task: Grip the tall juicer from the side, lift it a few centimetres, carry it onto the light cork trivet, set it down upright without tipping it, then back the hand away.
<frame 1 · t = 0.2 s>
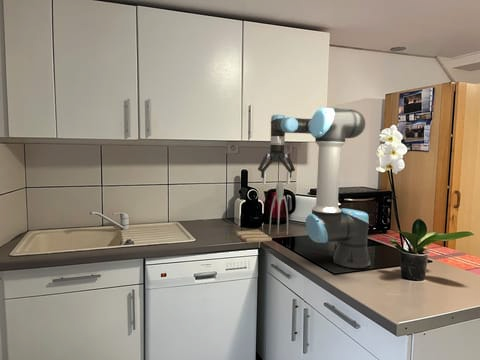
hand: (276, 184, 188), 29 cm above the countertop, tool pointing down, fingers open, 13 cm apart
trivet: (252, 237, 188), on the countertop
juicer: (280, 235, 194), on the countertop
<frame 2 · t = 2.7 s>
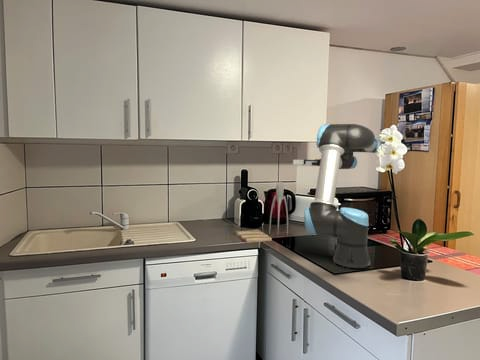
hand: (299, 162, 193), 40 cm above the countertop, tool horizontal, fingers open, 13 cm apart
nothing on the countertop moved.
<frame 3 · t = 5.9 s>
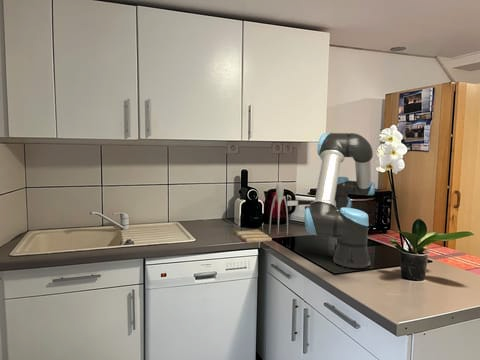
hand: (292, 205, 195), 16 cm above the countertop, tool horizontal, fingers open, 13 cm apart
nothing on the countertop moved.
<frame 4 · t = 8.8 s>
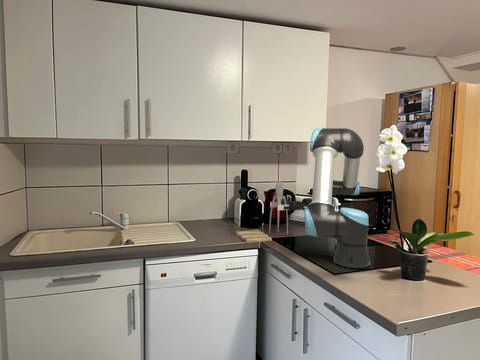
hand: (274, 206, 190), 17 cm above the countertop, tool horizontal, fingers closed on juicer, 8 cm apart
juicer: (280, 235, 194), on the countertop, touching gripper
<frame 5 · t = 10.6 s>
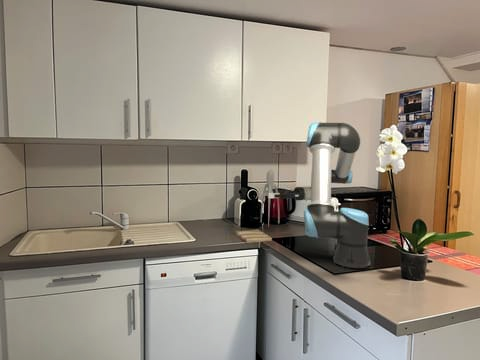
hand: (264, 194, 189), 23 cm above the countertop, tool horizontal, fingers closed on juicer, 8 cm apart
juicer: (271, 224, 192), point 6 cm above the countertop, touching gripper
when the fingers open (19 cm above the countertop, at t = 12.8 s): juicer drops 1 cm, resting on trivet.
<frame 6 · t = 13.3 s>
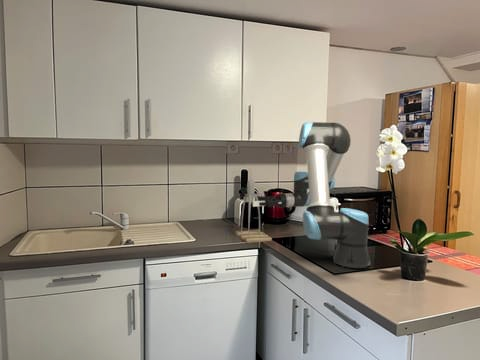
hand: (248, 201, 185), 19 cm above the countertop, tool horizontal, fingers open, 13 cm apart
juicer: (252, 234, 188), point 1 cm above the countertop, touching trivet
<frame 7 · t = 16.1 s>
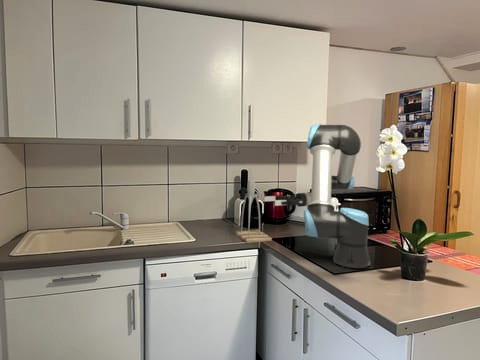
hand: (269, 200, 189), 20 cm above the countertop, tool horizontal, fingers open, 13 cm apart
nothing on the countertop moved.
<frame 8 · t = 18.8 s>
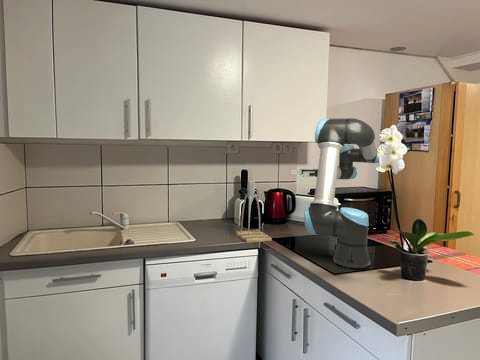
hand: (296, 173, 187), 35 cm above the countertop, tool horizontal, fingers open, 13 cm apart
nothing on the countertop moved.
at the end: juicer inside the target area on the trivet (0.4 cm from its centre), point 1.3 cm above the trivet's base; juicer tilted 0°; the gripper is holding nothing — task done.
